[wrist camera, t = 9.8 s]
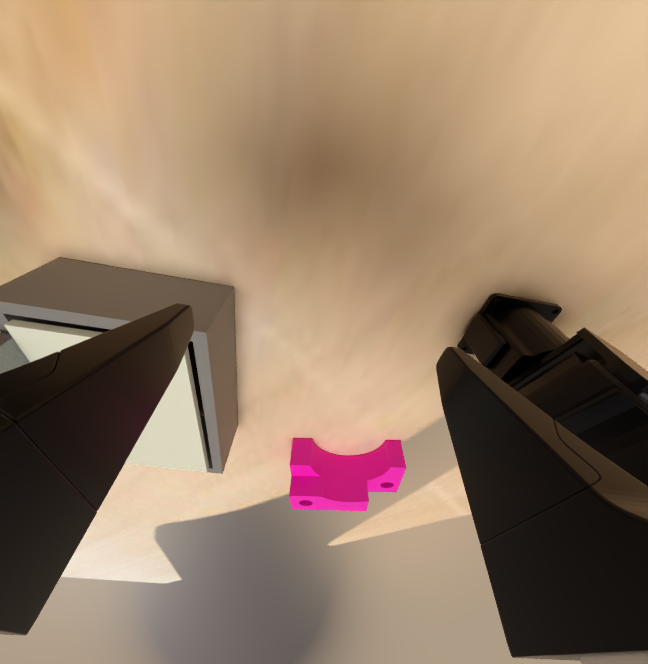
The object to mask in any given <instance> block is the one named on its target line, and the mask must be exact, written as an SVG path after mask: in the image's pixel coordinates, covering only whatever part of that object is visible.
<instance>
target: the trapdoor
mask: <svg viewBox="0 0 648 664" xmlns="http://www.w3.org/2000/svg"><path fill="white" fill-rule="evenodd" d="M4 326H5V327H6V329H7V330H8V332H9V333H10V334H7V333H0V374H1V373H3V372H6V371H9V370H12V369H15V368H17V367H20V366H22V365H25V364H27V363H30V362H33V361H35V360H38V359H40V358H43V357H45V356H48V355H50V354H52V353H55V352H60V351H61V350H62V349H65V348H67V347H70V346H72V345H75V344H77V343H80V342H82V341H85V340H87V339H90V338H92V337H95V336H97V335H99V334H102V332H95V331H88V330H82V329H75V328H68V327H61V326H54V325H47V324H41V323H34V322H27V321H20V320H13V319H12V320H11V321H9V322H8V323H6V324H4ZM125 464H133V465H143V466H152V467H162V468H171V469H181V470H191V471H200V472H207V471H208V468H209V463H208V458H207V452H206V446H205V441H204V435H203V429H202V424H201V418H200V412H199V407H198V401H197V396H196V390H195V384H194V379H193V373H192V367H191V362H190V356H189V350H188V347H187V349H186V351H185V354H184V356H183V359H182V361H181V363H180V366H179V368H178V370H177V372H176V374H175V376H174V377H173V379H172V381H171V383H170V384H169V386H168V388H167V390H166V391H165V393H164V395H163V397H162V398H161V400H160V402H159V404H158V405H157V407H156V409H155V411H154V412H153V414H152V416H151V418H150V420H149V421H148V423H147V425H146V427H145V428H144V430H143V432H142V434H141V435H140V437H139V439H138V441H137V442H136V444H135V446H134V448H133V449H132V451H131V453H130V455H129V457H128V458H127V460H126V462H125Z"/></svg>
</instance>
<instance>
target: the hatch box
mask: <svg viewBox="0 0 648 664" xmlns="http://www.w3.org/2000/svg"><path fill="white" fill-rule="evenodd" d="M176 303H182V304H188V305H190V306H191V307H192V310H193V317H194V324H195V328H194V332H193V334H192V337H191V339H190V341H192V342H193V346H194V352H195V359H196V365H197V371H198V378H199V384H200V390H201V396H202V403H203V409H204V415H205V416H201V415H200V418H201V424H202V429H203V435H204V441H205V446H206V452H207V458H208V463H209V468H208V471H207V472H211V473H221V474H223V471H224V467H225V464H226V461H227V458H228V455H229V452H230V448H231V445H232V442H233V439H234V436H235V432H236V429H237V426H238V406H237V372H236V338H235V304H234V287H231V286H225V285H219V284H213V283H207V282H201V281H195V280H190V279H184V278H178V277H172V276H166V275H160V274H154V273H148V272H142V271H136V270H130V269H124V268H119V267H113V266H107V265H101V264H95V263H89V262H83V261H77V260H71V259H65V258H57V259H55V260H53V261H51V262H49V263H47V264H45V265H43V266H41V267H39V268H37V269H35V270H32V271H30V272H28V273H26V274H24V275H22V276H20V277H18V278H16V279H14V280H12V281H10V282H8V283H6V284H4V285H1V286H0V331H1V333H7V334H10V333H9V332H8V330H7V329H6V327H5V326H4V324H6V323H8V322H9V321H11V320H12V319H13V320H20V321H27V322H34V323H41V324H47V325H54V326H61V327H68V328H75V329H82V330H88V331H95V332H102V333H103V331H102V329H101V328H104V329H111V330H112V329H114V328H117V327H119V326H122V325H124V324H127V323H129V322H132V321H134V320H136V319H139V318H141V317H144V316H146V315H149V314H151V313H154V312H156V311H159V310H161V309H164V308H166V307H168V306H171V305H173V304H176Z"/></svg>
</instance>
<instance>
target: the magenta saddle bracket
mask: <svg viewBox="0 0 648 664" xmlns="http://www.w3.org/2000/svg"><path fill="white" fill-rule="evenodd" d="M290 469H291V475H292V477H291V485H290V494H289V497H290V502H291V507H292V509H307V510H308V509H309V510H348V511H366V510H367V506H368V502H369V498H368V492H397V490H398V487H399V485H400V482H401V479H402V477H403V474H404V472H405V469H406V465H405V460H404V456H403V451H402V446H401V442H400V440H386V441H385V442H384V444H383V445H382V446H381V447H379V448H378V449H376V450H374V451H372V452H370V453H367V454H363V455H357V456H341V455H335V454H331V453H328V452H325V451H323V450H322V449H320V448H319V447H317V446H316V445H315V443H314V442H313V440H312V439H305V438H293V444H292V452H291V460H290Z"/></svg>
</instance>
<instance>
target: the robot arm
mask: <svg viewBox="0 0 648 664" xmlns="http://www.w3.org/2000/svg"><path fill="white" fill-rule="evenodd" d="M495 299H497V300H496V301H494V300H495ZM553 310H554V311H553ZM561 311H562V308H561V307H560V306H558V305H557V304H551V303H546V302H541V301H535V300H530V299H524V298H519V297H513V296H508V295H502V294H493V295H491V296H490V297H489V299H488V300H487V302H486V303H485V305H484V306H483V308H482V309H481V311H480V312H479V314H478V316H477V317H476V318H475V320H474V322H473V323H472V325H471V326H470V328H469V329H468V331H467V332H466V334H465V335H464V337H463V338H462V340H461V342H460V343H459V345H458V348H456V347H447V348H446V349H445V351H444V352H443V354H442V356H441V357H440V359H439V360H438V362H437V365H436V370H437V376H438V383H439V389H440V395H441V401H442V406H443V410H444V414H445V418H446V421H447V425H448V429H449V432H450V436H451V440H452V443H453V447H454V451H455V454H456V458H457V461H458V465H459V469H460V472H461V476H462V480H463V483H464V487H465V491H466V494H467V498H468V501H469V505H470V509H471V512H472V516H473V520H474V523H475V527H476V530H477V534H478V538H479V541H480V544H481V549H482V553H483V557H484V560H485V564H486V568H487V571H488V575H489V578H490V582H491V586H492V589H493V593H494V596H495V600H496V604H497V608H498V611H499V615H500V619H501V622H502V626H503V629H504V633H505V637H506V640H507V644H508V647H509V650H510V653H511V656H512V657H513V658H534V659H557V660H577V661H578V660H579V661H581V664H648V371H646V370H645V369H644V368H642V367H641V366H640V365H638V364H637V363H636V362H634V361H633V360H632V359H630V358H629V357H628V356H626V355H625V354H624V353H622V352H621V351H619V350H618V349H616V348H615V347H613V346H612V345H610V344H609V343H607V342H606V341H604V340H603V339H601V338H600V337H598V336H597V335H595V334H594V333H592V332H591V331H589V330H588V329H586V328H585V327H584V328H583V329H581V330H580V331H578V332H577V334H576V335H575V336H574V337H572V338H571V339H569V338H568V337H567V336H566V335H565V334H563V333H562V332H561V331H560V330H559V329H558V328H557V327H556V326H555V325H553V324H552V322H553V320H554V319H555V318H556V317H557V316H558V315H559V314H560V312H561ZM194 328H195V324H194V317H193V310H192V307H191V306H190V305H188V304H182V303H176V304H173V305H171V306H168V307H166V308H164V309H161V310H159V311H156V312H154V313H151V314H149V315H146V316H144V317H141V318H139V319H136V320H134V321H132V322H129V323H127V324H124V325H122V326H119V327H117V328H114V329H112V330H109V331H107V332H104V333H102V334H99V335H97V336H95V337H92V338H90V339H87V340H85V341H82V342H80V343H77V344H75V345H72V346H70V347H67V348H65V349H62V350H61V351H60V352H55V353H52V354H50V355H48V356H45V357H43V358H40V359H38V360H35V361H33V362H30V363H27V364H25V365H22V366H20V367H17V368H15V369H12V370H9V371H6V372H3V373H1V374H0V634H7V635H26V634H27V633H28V632H29V630H30V629H31V627H32V626H33V624H34V622H35V621H36V619H37V617H38V615H39V614H40V612H41V610H42V608H43V607H44V605H45V603H46V601H47V600H48V598H49V596H50V594H51V593H52V591H53V589H54V587H55V585H56V584H57V582H58V580H59V578H60V577H61V575H62V573H63V571H64V570H65V568H66V566H67V564H68V563H69V561H70V559H71V557H72V556H73V554H74V552H75V550H76V549H77V547H78V545H79V543H80V541H81V540H82V538H83V536H84V534H85V533H86V531H87V529H88V527H89V526H90V524H91V522H92V520H93V519H94V517H95V515H96V513H97V510H98V509H99V508H100V506H101V504H102V502H103V501H104V499H105V497H106V495H107V494H108V492H109V490H110V488H111V486H112V485H113V483H114V481H115V479H116V478H117V476H118V474H119V472H120V471H121V469H122V467H123V465H124V464H125V462H126V460H127V458H128V457H129V455H130V453H131V451H132V449H133V448H134V446H135V444H136V442H137V441H138V439H139V437H140V435H141V434H142V432H143V430H144V428H145V427H146V425H147V423H148V421H149V420H150V418H151V416H152V414H153V412H154V411H155V409H156V407H157V405H158V404H159V402H160V400H161V398H162V397H163V395H164V393H165V391H166V390H167V388H168V386H169V384H170V383H171V381H172V379H173V377H174V376H175V374H176V372H177V370H178V368H179V366H180V363H181V361H182V359H183V356H184V354H185V351H186V349H187V347H188V344H189V342H190V339H191V337H192V334H193V332H194ZM463 347H464V348H463ZM467 353H469V354H475V355H476V357H477V359H478V360H479V362H480V363H481V364H480V363H479V362H477V361H476V360H475V359H473V358H472V357H471V356H470V355H468V354H467Z"/></svg>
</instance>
